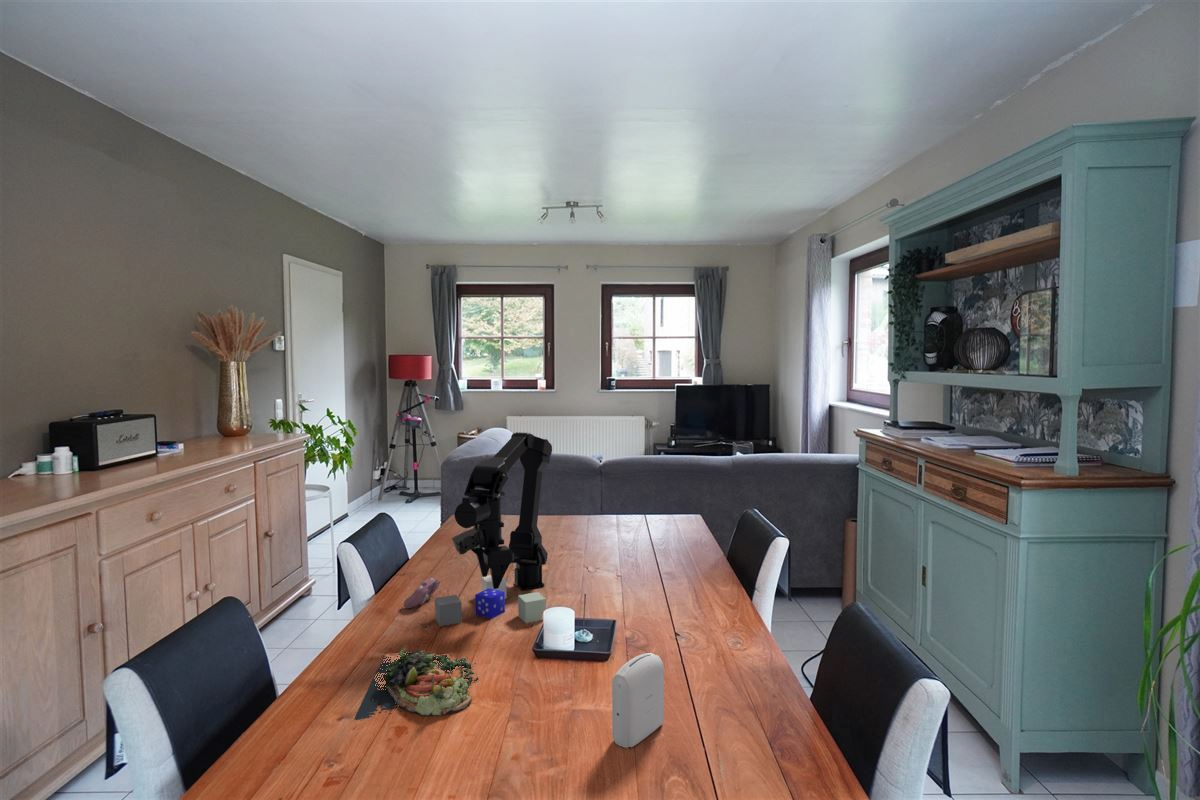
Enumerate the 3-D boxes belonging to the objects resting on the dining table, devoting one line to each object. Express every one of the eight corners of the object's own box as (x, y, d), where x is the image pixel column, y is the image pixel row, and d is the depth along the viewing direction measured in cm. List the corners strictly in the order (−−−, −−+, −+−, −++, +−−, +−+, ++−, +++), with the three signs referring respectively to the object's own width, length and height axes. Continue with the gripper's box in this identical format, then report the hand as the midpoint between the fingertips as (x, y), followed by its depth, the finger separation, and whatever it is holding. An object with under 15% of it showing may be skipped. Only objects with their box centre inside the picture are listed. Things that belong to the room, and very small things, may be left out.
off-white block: (500, 592, 168) (500, 573, 168) (506, 598, 164) (506, 579, 163) (481, 595, 166) (481, 576, 166) (487, 602, 161) (487, 582, 161)
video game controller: (416, 616, 156) (428, 592, 155) (400, 607, 157) (412, 582, 156) (434, 601, 166) (445, 578, 165) (419, 592, 166) (430, 569, 165)
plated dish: (506, 736, 105) (504, 692, 104) (324, 754, 101) (322, 708, 100) (507, 645, 139) (506, 612, 139) (372, 655, 135) (370, 621, 135)
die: (489, 608, 157) (488, 587, 157) (505, 612, 155) (504, 591, 155) (475, 614, 153) (474, 594, 153) (491, 619, 151) (491, 598, 150)
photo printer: (629, 753, 99) (629, 674, 98) (608, 742, 102) (608, 666, 101) (667, 724, 107) (668, 651, 106) (646, 715, 110) (646, 644, 109)
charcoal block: (456, 615, 153) (456, 594, 153) (461, 623, 148) (461, 601, 148) (435, 619, 151) (434, 598, 150) (439, 627, 146) (439, 605, 146)
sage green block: (538, 612, 155) (538, 592, 154) (545, 619, 150) (545, 598, 150) (518, 616, 152) (518, 595, 152) (525, 623, 148) (525, 602, 148)
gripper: (445, 513, 157) (447, 575, 158) (465, 531, 141) (466, 601, 142) (490, 508, 162) (491, 569, 163) (514, 525, 146) (515, 593, 147)
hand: (490, 582), depth 154 cm, fingers open, 9 cm apart
